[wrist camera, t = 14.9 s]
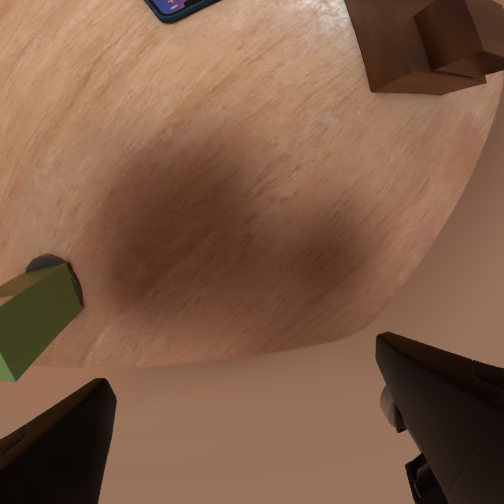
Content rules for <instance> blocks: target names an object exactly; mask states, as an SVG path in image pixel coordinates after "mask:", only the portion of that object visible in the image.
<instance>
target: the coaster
mask: <svg viewBox="0 0 504 504" xmlns="http://www.w3.org/2000/svg"><path fill="white" fill-rule="evenodd" d="M64 263H66V262H64V261H63V260H62V259H60V258H58V257H56V256H53V255H41V256H39V257H37V258H35V259H33V260H32V261H31V262H30V264H29V265H28V267H27V269H26V272H30V271H34V270H39V269H43V268H47V267H51V266H56V265H60V264H64ZM67 266H68V269H69V272H70V276H71V279H72V282H73V285H74V288H75V291H76V294H77V297H78V299H79V302H80V305H81V303H82V292H81V287H80V284H79V281H78V279H77V277H76V275H75V273H74V272H73V270H72V269H71V268H70V266H69V265H68V264H67ZM26 272H25V273H26Z"/></svg>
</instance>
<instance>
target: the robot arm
mask: <svg viewBox="0 0 504 504" xmlns="http://www.w3.org/2000/svg"><path fill="white" fill-rule="evenodd" d="M376 361H377V364H378V366H379V368H380V371H381V373H382V375H383V377H384V380H385V382H386V385H387V387H388V389H389V392H390V394H391V396H392V398H393V400H394V407H395V422H396V431H397V432H398V433H401V432H403V431H405V430H408V431H409V433H410V435H411V436H412V438H413V440H414V441H415V443H416V445H417V446H418V448H419V450H420V452H421V454H420V455H419V456H417V457H416V458H415V459H414V460H413V461H411V462H408V463H407V464H406V465H405V468H406V470H407V476H408V480H409V484H410V488H411V491H412V495H413V499H414V501H415V504H504V368H500V367H495V366H492V365H488V364H485V363H481V362H479V361H475V360H473V361H472V360H471V359H469V358H466V357H462V356H460V355H457V354H454V353H450V352H447V351H444V350H441V349H438V348H435V347H432V346H429V345H426V344H424V343H421V342H418V341H415V340H412V339H409V338H406V337H403V336H400V335H397V334H394V333H391V332H385V333H382V334H378V336H377V337H376ZM116 403H117V400H116V396H115V394H114V392H113V390H112V388H111V386H110V384H109V382H108V381H107V380H106V379H105V378H96V379H93V380H92V381H90V382H89V383H87V384H86V385H84V386H83V387H81V388H80V389H79V390H77V391H76V392H74V393H72V394H71V395H69V396H68V397H67V398H65V399H63V400H62V401H60V402H59V403H57V404H56V405H54V406H53V407H51V408H50V409H48V410H47V411H45V412H44V413H42V414H41V415H39V416H37V417H36V418H34V419H33V420H32V421H30V422H28V423H27V424H26V425H24V426H22V427H20V428H19V429H17V430H16V431H14V432H12V433H11V434H9V435H8V436H6V437H4V438H2V439H0V504H98V500H99V495H100V490H101V484H102V480H103V475H104V470H105V466H106V461H107V456H108V452H109V448H110V443H111V439H112V433H113V425H114V418H115V409H116Z"/></svg>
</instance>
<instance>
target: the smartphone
mask: <svg viewBox="0 0 504 504" xmlns="http://www.w3.org/2000/svg"><path fill="white" fill-rule="evenodd" d="M213 1H215V0H145V2H146V3H147V4H148V5H149V7H150V8H151V9H152V11H153V12H154V13H155V14H156V16H157V17H158V18H159V19H160V20H162V21H165V22H171V21H175V20H177V19H179V18H181V17H183V16H185V15H187V14H189V13H191V12H192V11H194V10H196V9H198V8H200V7H202V6H205V5H207V4H209V3H211V2H213Z"/></svg>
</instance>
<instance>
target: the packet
mask: <svg viewBox="0 0 504 504" xmlns="http://www.w3.org/2000/svg"><path fill="white" fill-rule="evenodd" d="M81 311H82V308H81V305H80V302H79V299H78V297H77V294H76V291H75V288H74V285H73V282H72V279H71V276H70V272H69V269H68V266H67V263H64V264H60V265H56V266H51V267H47V268H43V269H39V270H34V271H30V272H26V273H22V274H20V275H18V276H17V277H15V278H13V279H12V280H10V281H8V282H7V283H5V284H3V285H2V286H0V380H1V381H10V382H16V381H17V380H18V379H19V378H20V377H21V375H22V374H23V373H24V372H25V371H26V370H27V369H28V367H29V366H30V365H31V364H32V363H33V362H34V361H35V360H36V358H37V357H38V356H39V355H40V354H41V353H42V352H43V351H44V350H45V348H46V347H47V346H48V345H49V344H50V343H51V342H52V341H53V340H54V339H55V338H56V337H57V336H58V335H59V333H60V332H61V331H62V330H63V329H64V328H65V327H66V326H67V325H68V324H69V323H70V322H71V321H72V320H73V319H74V318H75V317H76V316H77V315H78V314H79V313H80V312H81Z"/></svg>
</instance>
